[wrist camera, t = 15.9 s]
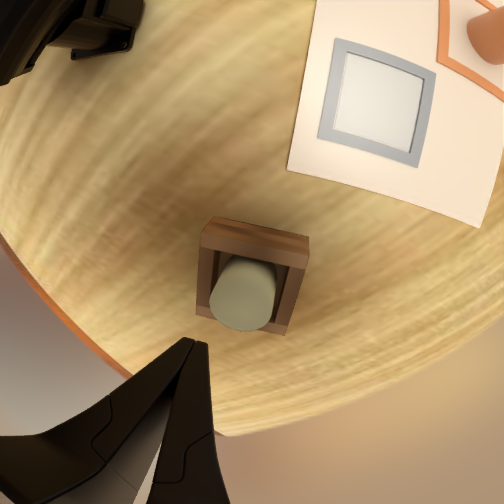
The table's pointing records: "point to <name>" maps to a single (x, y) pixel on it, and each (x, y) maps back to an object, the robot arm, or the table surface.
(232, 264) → the button
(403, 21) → the picture sheet
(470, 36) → the marker
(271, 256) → the button base
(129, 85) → the table surface
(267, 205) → the table surface
